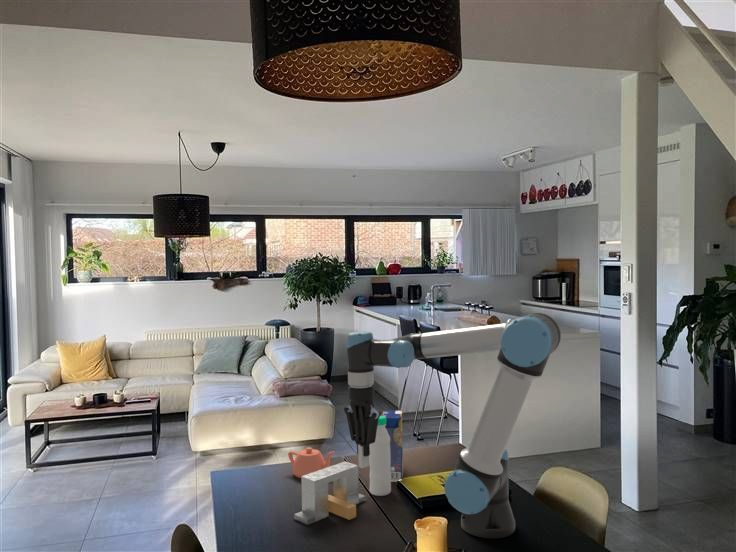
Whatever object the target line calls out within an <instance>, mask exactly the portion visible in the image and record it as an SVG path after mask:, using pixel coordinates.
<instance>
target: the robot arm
mask: <svg viewBox="0 0 736 552" xmlns="http://www.w3.org/2000/svg"><path fill="white" fill-rule="evenodd" d="M561 332H562V331H561V329H560V327H559V325H558V323H557V321H556V320H555V319H554V318H553V317H551V316H549V315H548V314H545V313H542V312H533V313H530V314H529V313H528V314H527V315H521V316H519V317H514V318H509V319H508V320H507V321H506V322H504V323H495V324H494V323H493V324H487V325H479V326H471V327H461V328H456V329H455V328H453V329H446V330H437V331H429V332H423V333H422V332H421V333H418V332H417V333H416V332H414V333H413V332H412V333H408V334H405V335H403V336H399V337H395V338H392V339H376V338H374V336H373V335H374V334H373V333H372V332H371V331H365V330H363V331H353V332H349V333H348V334H347V338H346V341H347V342H346V352H347V353H346V354H347V355H346V356H347V385H348V388H347V389H348V391H347V392H348V399H349V400H350V402H349V405H348V406H345V407H343V410H344V412H345V414H346V418H347V425H348V430H349V435H350V439H351V441H354V442H355V444H356V454H357V456H358V461H357V462H358V468H360V469H364V468H367V467H370V465H369V455H370V444H372V443H374V442H375V439H376V432H377V425H378V419H379V417H380V416H382V413H381V411H377V409H375V403H374V399H375V398H376V397H375V396H376V395H375V386H374V384H375V376H374V375H375V373H374V372H375V371H374V370H375V369H374V367H388V368H396V369H401V368H408V367H410V366H411V365H412V363H413V362H414V360H422V359H423V360H425V359H432V358H433V359H434V358H443V357H453V356H463V355H473V354H484V353H495V352H496V353H498V355H497V357H496V360H497V362H498V364H499V369H498V371H497V375H496V377H495V380H494V382H493V384H492V387H491V390H490V392H489V395H488V397H487V399H486V403H485V405H484V407H483V410H482V412H481V416H480V417H479V420H478V423H477V426H476V428H475V431H474V434H473V436H472V438H471V441H470V443H469V445H468V446H467V447H466V448H463V449H461V451H460V453H459V455H458V457H457V460H456V462H455V466H454V468H453V470H452V471H451V472H449V474H448V475H447V477H446V479H445V481H444V486H443V487H444V494H445V496H446V498H447V500H448V503H449V504H450V505H451V506H452V507H453V508H454V509H455V510H457V511H458V512H460V513H461V516H460V526H461V529H462V530H463V531H464V532H465V533H467V534H469V535H470V536H475V537H476V538H477V537H478V538H483V539H502V538H506V537H509V536H511V535H513V534H514V532H516V519H515V517H514V514H513V510H512V507H511V504H510V500H509V499H510V498H509V497H510V496H509V495H510V494H509V489H510V488H509V487H510V486H509V462H510V459H509V452H508V450H507V449H506V448H507V445H508V443H509V441H510V438H511V435H512V433H513V431H514V428H515V425H516V422H517V421H518V418H519V415H520V413H521V411H522V408H523V405H524V403H525V400H526V397H527V395H528V393H529V390H530V388H531V386H532V383H533V381H534V380H536V379H538V378H542V375H543V373H544V370H545V368H546V366H547V364H548V360H549V358H550V356H551V354H553V353H554V352H555V351H556V350H557V348H558V347H559V345H560V343H561V338H562V333H561Z"/></svg>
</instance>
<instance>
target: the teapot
mask: <svg viewBox="0 0 736 552" xmlns="http://www.w3.org/2000/svg"><path fill="white" fill-rule="evenodd" d="M335 452H336V451H334V450H333V451H329V452H328V453H327V456H326V460H325V458H324V456H323V454H322V452H321V451H320V450H318V449H315V448H314V449H313V447H311V446H310V447H306V448H305V449H302V450H300V451H298V452H296V451H293V450H292V451H291V450H290V451H288V453H287V457H288V459H289V461H290V463H291V464H292V473H293V476H295V477H296V478H297V477H298V478H297V479H300V478H301V476H304V475H307V474H310V473H312V472H315V471H318V470H321V469H324V468H327V467H330V466H331V465H330V464H331V459H332V455H333V454H334V453H335ZM293 455H295V459H294V457H293Z"/></svg>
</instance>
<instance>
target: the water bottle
mask: <svg viewBox="0 0 736 552" xmlns="http://www.w3.org/2000/svg"><path fill="white" fill-rule="evenodd" d="M386 423H387V420H386V417H384V416H382V415H380V417H379V419H378V425H377V432H376V439H375V442H374V443H372V444H370V455H369V492H370V493H371V495H373V496H376V497H384V496H388V495H389V494H391V492H392V486H391V485H392V482H390V480H391V472H390V464H391V455H390V436H389V434H388V432H387V430H386V428H385V426H386Z"/></svg>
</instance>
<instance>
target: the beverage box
mask: <svg viewBox="0 0 736 552" xmlns="http://www.w3.org/2000/svg"><path fill="white" fill-rule="evenodd" d="M381 416H384V417H386V420H387V423H386V426H385V428H386V430H387V432H388V434H389V436H390V455H391V464H390V472H391V480H390V482H391V483H393V482H394V483H398V482H397V481H398V480H399V479H402V480H403V478H402V477H404V476H403V475H404V450H403V449H404V441H403V440H404V437H403V434H404V431H403V410H394V409H393V410H389V409H388V410H386V409H385V410H383V411H382V413H381Z"/></svg>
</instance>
